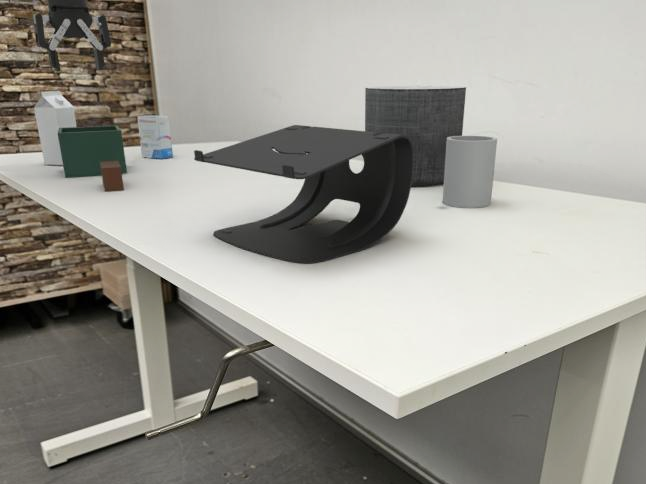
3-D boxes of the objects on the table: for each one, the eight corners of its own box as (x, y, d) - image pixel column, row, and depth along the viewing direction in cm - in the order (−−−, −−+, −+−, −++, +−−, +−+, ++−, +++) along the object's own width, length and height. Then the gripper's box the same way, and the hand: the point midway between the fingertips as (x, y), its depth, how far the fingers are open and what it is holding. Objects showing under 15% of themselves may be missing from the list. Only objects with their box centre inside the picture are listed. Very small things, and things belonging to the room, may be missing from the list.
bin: (65, 177, 148) (57, 133, 144) (66, 169, 161) (58, 127, 157) (127, 173, 153) (121, 130, 149) (123, 165, 166) (117, 125, 161)
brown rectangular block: (104, 191, 131) (101, 168, 129) (103, 183, 140) (99, 161, 138) (124, 190, 133) (120, 166, 131) (121, 182, 141) (117, 160, 139)
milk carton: (44, 165, 168) (30, 91, 160) (62, 161, 174) (49, 90, 166) (65, 166, 166) (52, 92, 158) (82, 162, 172) (71, 90, 164)
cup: (447, 207, 113) (451, 141, 108) (439, 198, 121) (443, 135, 117) (495, 207, 113) (502, 140, 108) (484, 197, 121) (490, 135, 117)
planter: (416, 168, 156) (420, 84, 148) (479, 180, 139) (487, 86, 131) (345, 176, 145) (346, 87, 137) (404, 191, 128) (408, 89, 120)
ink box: (174, 157, 180) (169, 115, 175) (162, 159, 176) (157, 116, 171) (153, 155, 184) (148, 114, 179) (141, 157, 180) (135, 115, 175)
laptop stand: (415, 236, 95) (420, 133, 88) (302, 270, 80) (299, 148, 74) (306, 211, 112) (304, 123, 106) (196, 234, 97) (187, 134, 91)
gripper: (95, -15, 126) (107, 70, 132) (21, -19, 118) (38, 71, 125) (106, -19, 120) (118, 70, 127) (30, -23, 113) (47, 71, 119)
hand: (78, 70), depth 126 cm, fingers open, 8 cm apart
